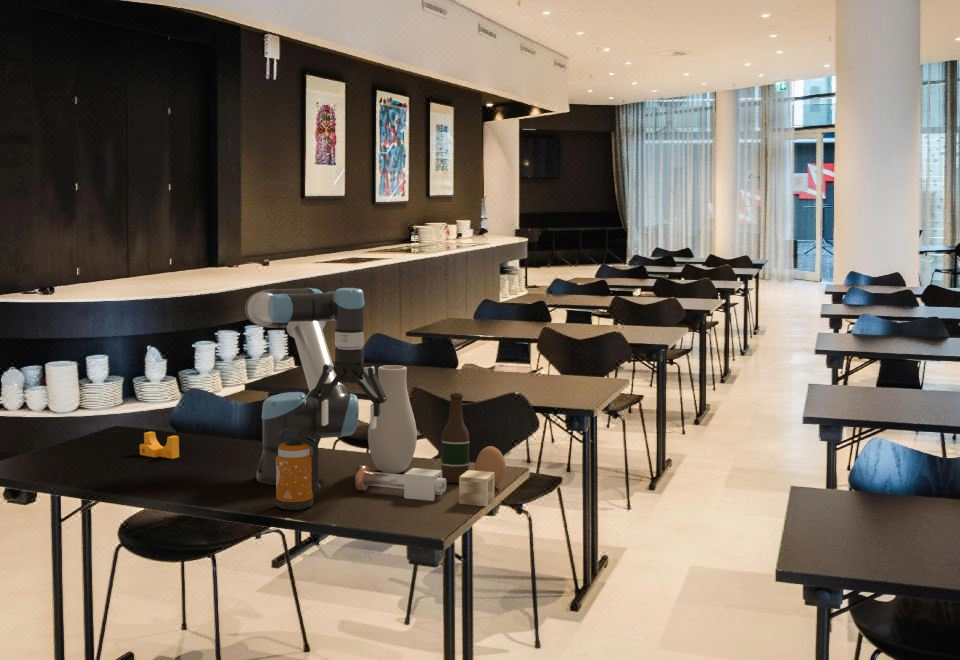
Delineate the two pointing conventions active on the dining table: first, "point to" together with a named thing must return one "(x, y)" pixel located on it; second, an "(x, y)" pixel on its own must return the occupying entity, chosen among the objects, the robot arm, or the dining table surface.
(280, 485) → the canister
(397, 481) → the bolt
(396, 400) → the vase
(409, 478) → the sleeve
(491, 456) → the egg
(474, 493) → the socket
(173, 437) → the pipe clamp
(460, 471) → the beer bottle
